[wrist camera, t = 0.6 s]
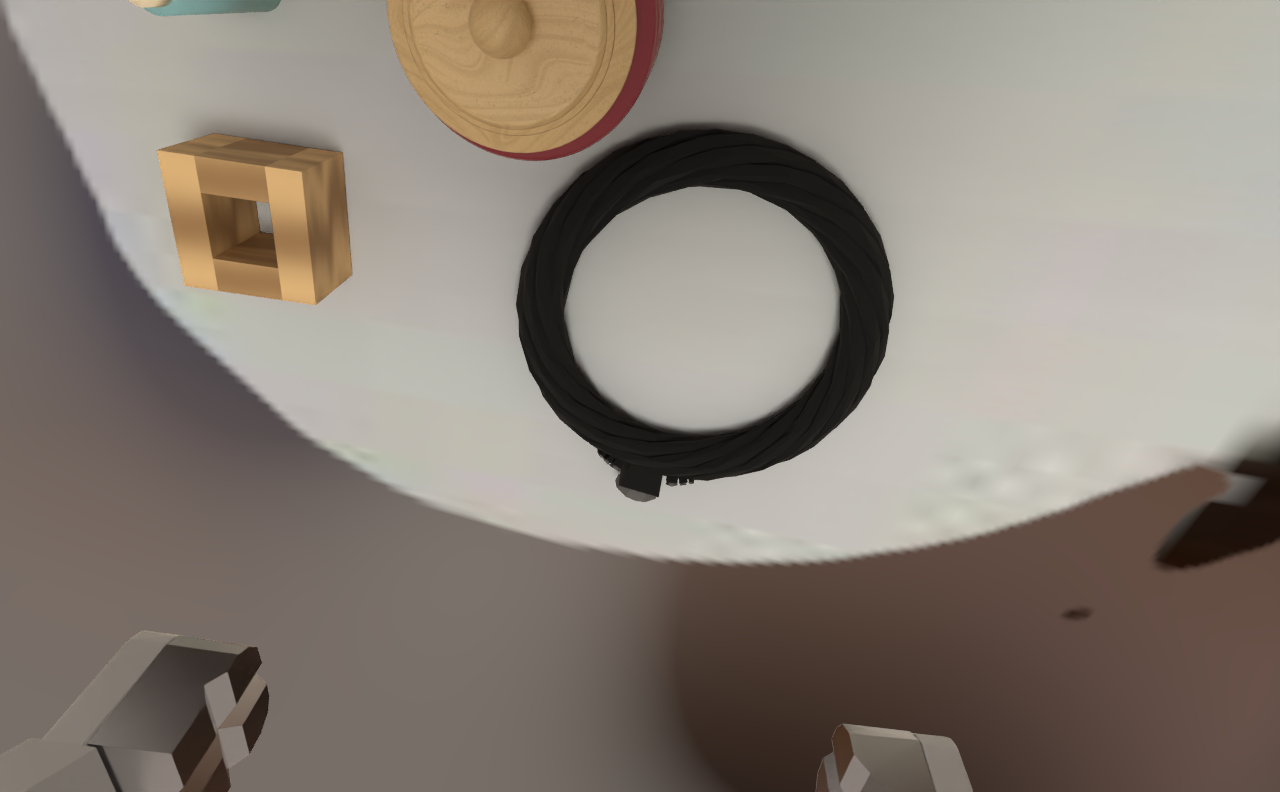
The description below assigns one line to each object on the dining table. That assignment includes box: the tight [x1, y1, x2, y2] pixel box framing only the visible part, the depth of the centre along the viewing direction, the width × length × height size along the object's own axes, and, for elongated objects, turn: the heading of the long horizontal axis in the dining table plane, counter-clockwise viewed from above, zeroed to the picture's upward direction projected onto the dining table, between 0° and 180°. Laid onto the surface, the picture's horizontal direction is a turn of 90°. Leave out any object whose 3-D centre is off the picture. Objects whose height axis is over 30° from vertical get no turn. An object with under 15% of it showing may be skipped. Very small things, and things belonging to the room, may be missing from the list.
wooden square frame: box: [157, 133, 352, 305], centre depth 48 cm, size 9×9×6 cm
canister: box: [387, 0, 664, 161], centre depth 36 cm, size 13×13×18 cm
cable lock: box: [516, 129, 894, 502], centre depth 53 cm, size 28×4×30 cm
